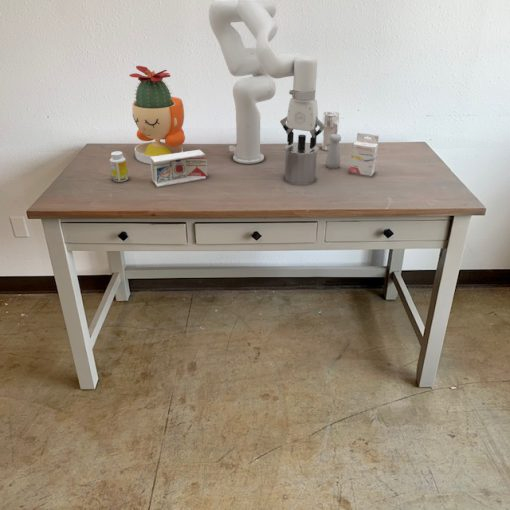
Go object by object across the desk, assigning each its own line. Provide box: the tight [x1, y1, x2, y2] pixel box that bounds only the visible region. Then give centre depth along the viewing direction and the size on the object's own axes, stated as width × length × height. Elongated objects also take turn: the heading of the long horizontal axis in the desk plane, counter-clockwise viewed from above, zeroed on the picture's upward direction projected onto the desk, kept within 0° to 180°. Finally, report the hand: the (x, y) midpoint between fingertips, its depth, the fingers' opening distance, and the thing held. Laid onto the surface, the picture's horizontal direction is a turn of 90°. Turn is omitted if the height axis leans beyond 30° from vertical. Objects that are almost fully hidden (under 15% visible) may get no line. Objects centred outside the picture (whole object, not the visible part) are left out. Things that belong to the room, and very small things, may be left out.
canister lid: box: [284, 134, 319, 155], centre depth 171 cm, size 12×12×6 cm
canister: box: [284, 151, 318, 185], centre depth 176 cm, size 11×11×12 cm
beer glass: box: [321, 111, 340, 152], centre depth 205 cm, size 7×7×15 cm
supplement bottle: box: [109, 150, 129, 183], centre depth 175 cm, size 6×6×10 cm
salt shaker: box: [325, 133, 342, 169], centre depth 186 cm, size 6×6×13 cm
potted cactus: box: [129, 65, 186, 165], centre depth 192 cm, size 22×22×35 cm
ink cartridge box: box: [349, 132, 380, 177], centre depth 180 cm, size 9×5×15 cm, turn 65°
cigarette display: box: [150, 149, 208, 188], centre depth 176 cm, size 20×6×9 cm, turn 115°
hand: (301, 145), depth 172 cm, fingers open, 7 cm apart
